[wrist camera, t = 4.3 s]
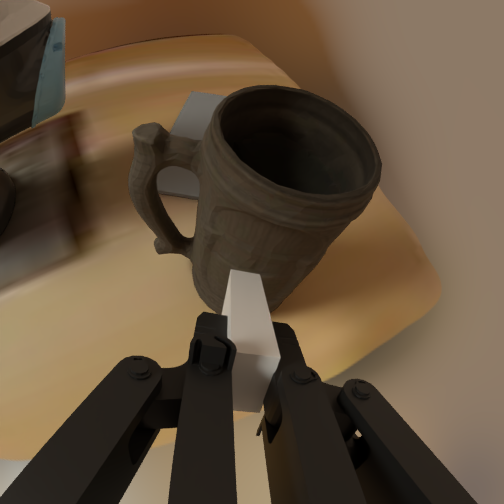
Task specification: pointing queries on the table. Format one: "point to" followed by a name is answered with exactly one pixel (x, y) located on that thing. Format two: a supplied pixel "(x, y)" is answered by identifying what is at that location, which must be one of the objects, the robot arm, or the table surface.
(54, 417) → the table surface
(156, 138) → the beer stein
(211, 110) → the mat
